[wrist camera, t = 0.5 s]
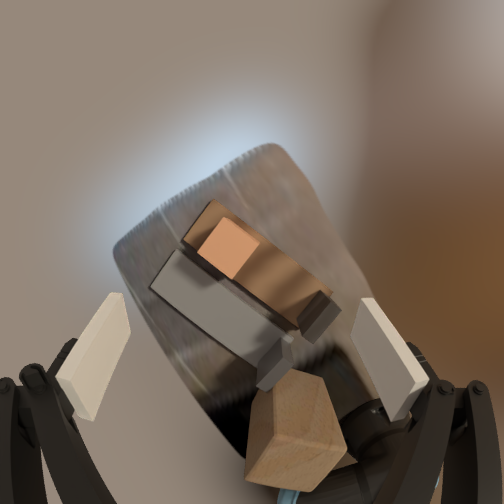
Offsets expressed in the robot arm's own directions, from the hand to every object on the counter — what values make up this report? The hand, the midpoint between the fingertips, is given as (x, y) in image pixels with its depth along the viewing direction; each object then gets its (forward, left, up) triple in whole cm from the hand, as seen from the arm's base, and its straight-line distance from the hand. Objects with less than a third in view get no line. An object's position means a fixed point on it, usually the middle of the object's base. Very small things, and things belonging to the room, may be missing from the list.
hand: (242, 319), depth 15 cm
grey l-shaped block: (0, +10, -30) cm, 32 cm away
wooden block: (-18, +16, -30) cm, 39 cm away
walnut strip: (0, +1, -30) cm, 30 cm away
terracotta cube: (+5, 0, -29) cm, 30 cm away
